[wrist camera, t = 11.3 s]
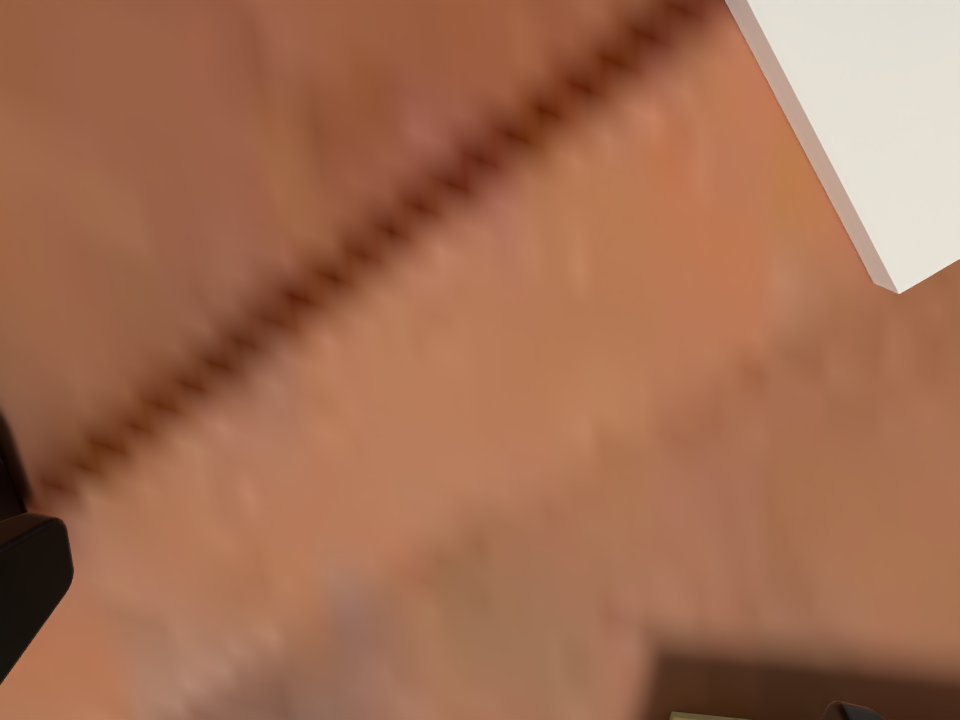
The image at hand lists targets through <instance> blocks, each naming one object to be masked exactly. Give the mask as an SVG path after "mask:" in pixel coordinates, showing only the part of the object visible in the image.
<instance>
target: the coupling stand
mask: <svg viewBox="0 0 960 720" xmlns="http://www.w3.org/2000/svg"><path fill="white" fill-rule="evenodd" d="M725 2H726V4H727V5H728V7H729V9H730V11H731V13H732V15H733V17H734V19H735V21H736V23H737V24H738V26H739V28H740V30H741V32H742V34H743V36H744V38H745V40H746V41H747V43H748V45H749V47H750V49H751V51H752V53H753V55H754V57H755V59H756V60H757V62H758V64H759V66H760V68H761V70H762V72H763V74H764V76H765V78H766V79H767V81H768V83H769V85H770V87H771V89H772V91H773V93H774V95H775V96H776V98H777V100H778V102H779V104H780V106H781V108H782V110H783V112H784V114H785V115H786V117H787V119H788V121H789V123H790V125H791V127H792V129H793V131H794V133H795V134H796V136H797V138H798V140H799V142H800V144H801V146H802V148H803V150H804V151H805V153H806V155H807V157H808V159H809V161H810V163H811V165H812V167H813V169H814V170H815V172H816V174H817V176H818V178H819V180H820V182H821V184H822V186H823V187H824V189H825V191H826V193H827V195H828V197H829V199H830V201H831V203H832V205H833V206H834V208H835V210H836V212H837V214H838V216H839V218H840V220H841V222H842V224H843V225H844V227H845V229H846V231H847V233H848V235H849V237H850V239H851V241H852V242H853V244H854V246H855V248H856V250H857V252H858V254H859V256H860V258H861V260H862V261H863V263H864V265H865V267H866V269H867V271H868V273H869V275H870V277H871V279H872V280H873V282H874V283H875V284H877V285H879V286H882V287H884V288H886V289H888V290H891V291H893V292H895V293H898V294H900V293H902V292H904V291H905V290H907V289H909V288H911V287H912V286H914V285H916V284H917V283H919V282H921V281H922V280H924V279H926V278H928V277H929V276H931V275H933V274H934V273H936V272H938V271H940V270H941V269H943V268H945V267H946V266H948V265H950V264H951V263H953V262H955V261H957V260H958V259H960V0H725Z"/></svg>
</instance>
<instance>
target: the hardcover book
mask: <svg viewBox="0 0 960 720" xmlns="http://www.w3.org/2000/svg"><path fill="white" fill-rule="evenodd" d="M669 720H750V719H740V718H730V717H721V716H711V715H702V714H692V713H682V712H673V711H671V715H670V719H669Z"/></svg>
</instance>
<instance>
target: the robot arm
mask: <svg viewBox="0 0 960 720" xmlns="http://www.w3.org/2000/svg"><path fill="white" fill-rule="evenodd" d="M73 574H74V567H73V561H72V555H71V549H70V543H69V537H68V531H67V527H66V525H65V523H64V522H63V521H62V520H61V519H59V518H56V517H52V516H48V515H43V514H39V513H32V512H29V513H24V514H23V512H22V509H21V506H20V503H19V500H18V497H17V494H16V492H15V489H14V486H13V483H12V480H11V477H10V474H9V471H8V468H7V465H6V463H5V460H4V457H3V454H2V451H1V448H0V685H1V683H2V682H3V681H4V679H5V678H6V676H7V675H8V674H9V672H10V671H11V669H12V668H13V667H14V665H15V664H16V662H17V661H18V660H19V658H20V657H21V655H22V654H23V653H24V651H25V650H26V648H27V647H28V646H29V644H30V643H31V641H32V640H33V639H34V637H35V636H36V634H37V633H38V632H39V630H40V629H41V627H42V626H43V625H44V623H45V622H46V620H47V619H48V618H49V616H50V615H51V613H52V612H53V611H54V609H55V608H56V606H57V605H58V604H59V602H60V601H61V599H62V598H63V597H64V595H65V594H66V592H67V591H68V589H69V587H70V585H71V582H72V579H73ZM821 720H885V719H884V718H883V717H882V716H881V715H880V714H879V713H878V712H876V711H875V710H873V709H871V708H869V707H865V706H861V705H856V704H852V703H848V702H844V701H833V702H831V703H830V704H829V705H828V706H827V708H826V709H825V711H824V714H823V716H822V718H821Z"/></svg>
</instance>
